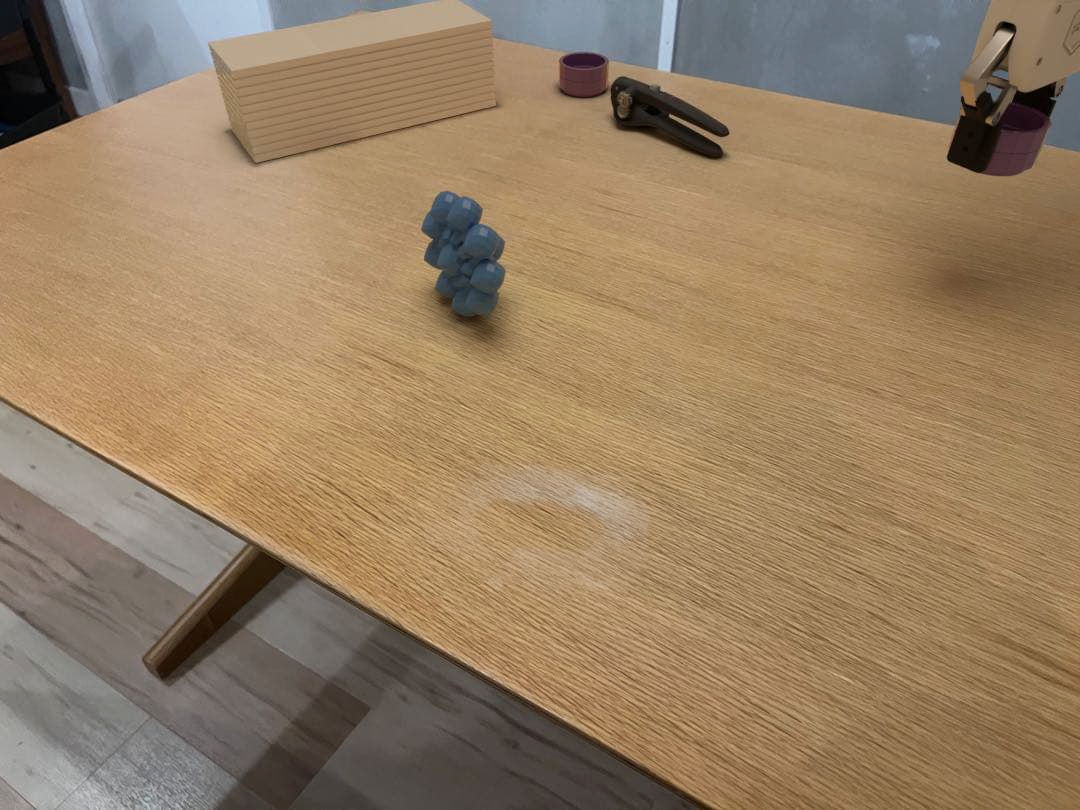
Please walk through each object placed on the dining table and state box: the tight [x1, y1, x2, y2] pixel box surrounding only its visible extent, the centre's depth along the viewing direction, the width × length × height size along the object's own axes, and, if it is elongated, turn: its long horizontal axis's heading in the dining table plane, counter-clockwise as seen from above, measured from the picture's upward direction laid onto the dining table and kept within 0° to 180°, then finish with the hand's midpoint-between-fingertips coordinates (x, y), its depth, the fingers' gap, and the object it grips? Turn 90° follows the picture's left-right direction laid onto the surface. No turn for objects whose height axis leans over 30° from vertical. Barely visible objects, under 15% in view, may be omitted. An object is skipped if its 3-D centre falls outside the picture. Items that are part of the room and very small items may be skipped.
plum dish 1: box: [558, 51, 610, 98], centre depth 111 cm, size 7×7×4 cm
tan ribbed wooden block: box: [207, 0, 497, 164], centre depth 102 cm, size 32×11×11 cm, turn 120°
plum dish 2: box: [948, 99, 1053, 177], centre depth 67 cm, size 7×7×4 cm
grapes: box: [421, 190, 507, 318], centre depth 70 cm, size 12×7×12 cm, turn 34°
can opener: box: [610, 75, 730, 157], centre depth 99 cm, size 18×7×6 cm, turn 41°
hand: (992, 152), depth 68 cm, fingers closed on plum dish 2, 6 cm apart
